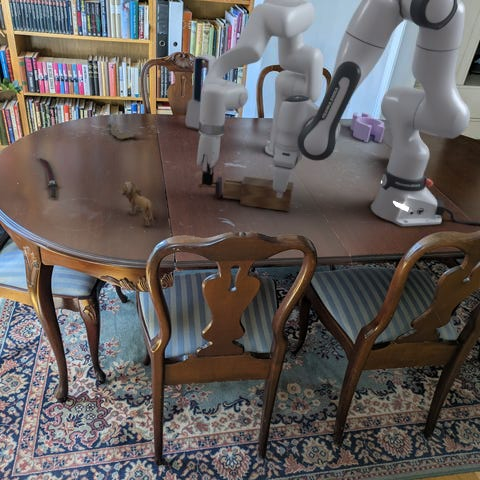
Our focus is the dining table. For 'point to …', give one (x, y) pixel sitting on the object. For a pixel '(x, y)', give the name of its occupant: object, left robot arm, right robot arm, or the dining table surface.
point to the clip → (367, 127)
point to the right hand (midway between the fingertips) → (280, 192)
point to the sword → (52, 181)
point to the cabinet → (264, 194)
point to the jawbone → (122, 135)
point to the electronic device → (197, 90)
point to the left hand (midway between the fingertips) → (207, 183)
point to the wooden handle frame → (226, 188)
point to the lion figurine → (137, 201)
